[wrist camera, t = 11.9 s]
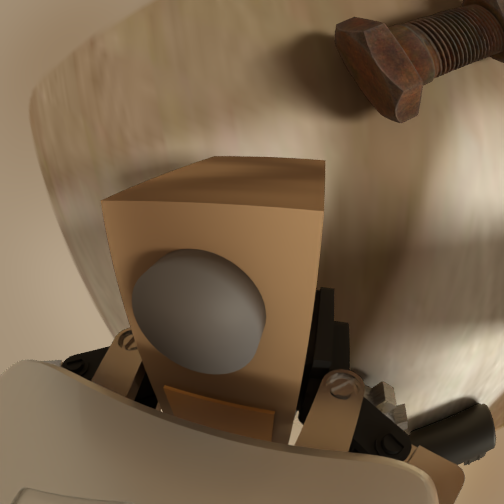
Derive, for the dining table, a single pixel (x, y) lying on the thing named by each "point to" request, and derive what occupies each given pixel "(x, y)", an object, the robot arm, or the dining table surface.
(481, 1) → the bolt
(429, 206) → the dining table surface
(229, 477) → the robot arm
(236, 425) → the tan block with disc
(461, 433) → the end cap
